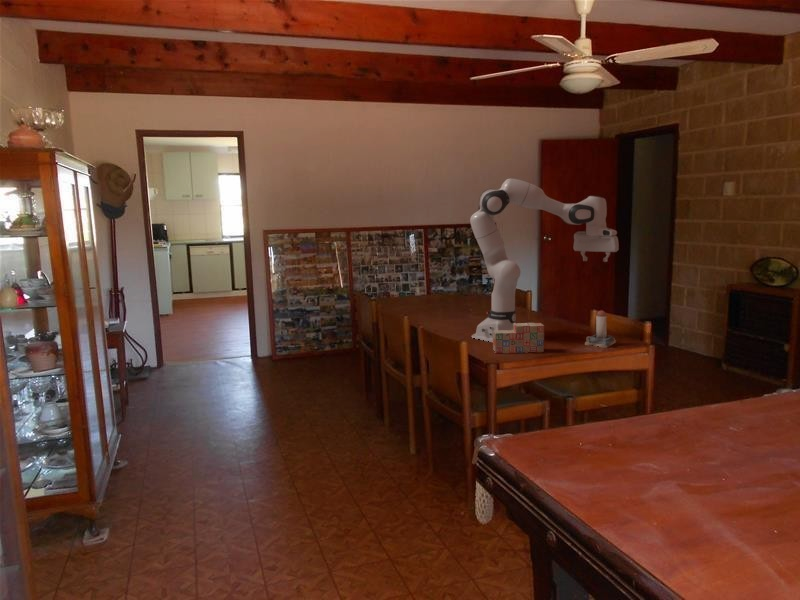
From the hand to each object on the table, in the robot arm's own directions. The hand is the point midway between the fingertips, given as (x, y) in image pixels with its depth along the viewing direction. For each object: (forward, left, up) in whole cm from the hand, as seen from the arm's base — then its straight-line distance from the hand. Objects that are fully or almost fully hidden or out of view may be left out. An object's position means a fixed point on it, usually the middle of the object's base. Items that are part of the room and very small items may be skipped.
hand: (595, 261), depth 275 cm
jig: (+6, -7, -37) cm, 38 cm away
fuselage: (+7, -8, -36) cm, 37 cm away
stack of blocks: (-19, -39, -38) cm, 58 cm away
